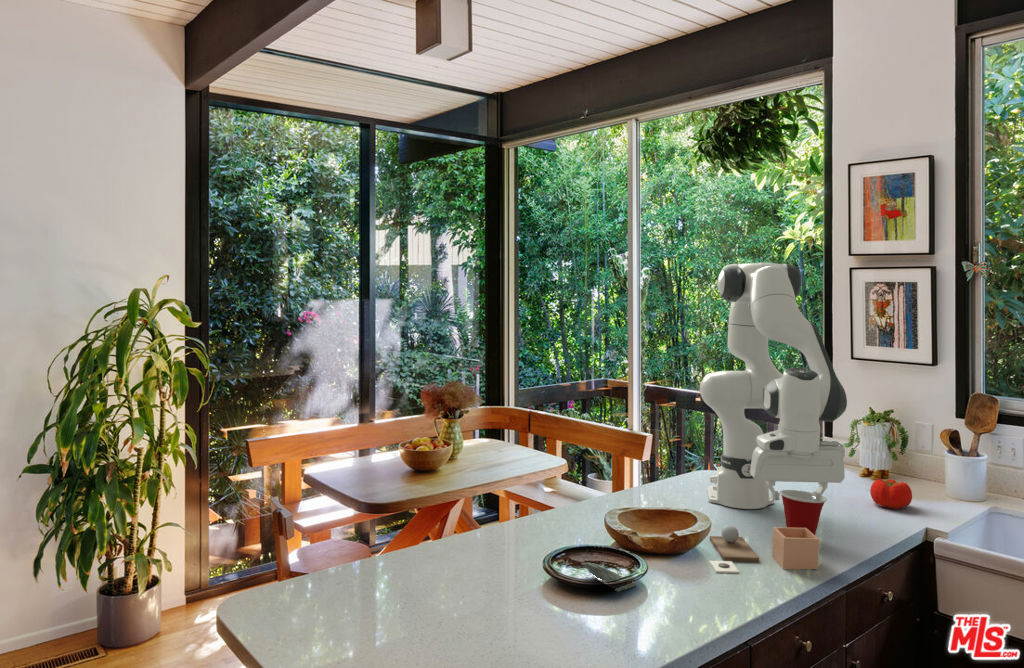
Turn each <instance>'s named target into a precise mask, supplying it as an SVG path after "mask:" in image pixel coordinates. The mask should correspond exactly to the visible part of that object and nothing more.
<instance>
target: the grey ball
mask: <svg viewBox="0 0 1024 668" xmlns="http://www.w3.org/2000/svg"><path fill="white" fill-rule="evenodd" d="M721 536H722V537H723V539H724V540H725V541H727V542H730V543H732V542H735V541H736V540H737V539H738V537H740V533H739V530H738V528H737V527H736V526H733V525H726V526H724V527H723V528H722V529H721Z"/></svg>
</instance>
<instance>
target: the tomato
mask: <svg viewBox="0 0 1024 668" xmlns="http://www.w3.org/2000/svg"><path fill="white" fill-rule="evenodd" d="M869 493H870V496H871V499H872V500H873V502H874V503H875V504H876V505H878V506H880V507H882V508H889V509H895V510H898V509H902V508H904V507H908V506H910V505H911V503H912V501H913V492H912V489H911V487H910V486H909V485H908V483H907V482H903V481H896V480H895V479H887V478H885V480H884V479H882V478H880V479H879V478H878V479H876V480H874V481H873V482H872V484H871V486H870V489H869Z"/></svg>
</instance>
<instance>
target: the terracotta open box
mask: <svg viewBox="0 0 1024 668" xmlns="http://www.w3.org/2000/svg"><path fill="white" fill-rule="evenodd" d="M771 545H772V548H771V557H772V559H774V561H775V562H776V563H777V564H778V565H779V566H780V567H781V569H783V570H800V569H817V570H816V571H819V557H820V556H819V554H820V553H819V552H820V538H819V537H817V536H816V534H815V535H814V534H813V533H812V532H810V531H809V530H808V529H807V528H792V527H785V526H784V527H783V526H780V527H778V526H773V527H772V544H771Z"/></svg>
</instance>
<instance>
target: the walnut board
mask: <svg viewBox="0 0 1024 668" xmlns="http://www.w3.org/2000/svg"><path fill="white" fill-rule="evenodd" d="M709 541H710V543H711V544H712V546H713V547H714V549H715V551H716V552H717V554H718V555H719V557H721V559H722V561H732V562H740V563H742V562H743V563H744V562H745V563H759V562H760V557H759V556H758V555H757V553H756V552H755V551H754V549H752V547H751V546H750V545H749V543H748V542H747V541H746V540H745V539H744V537H742V536H739V537H738V539H737V540H736V541H735V542H732V543H730V542H727V541H725V540H724V539H723V537H722V535H721V536H720V535H719V536H715V535H711V536H710V535H709Z"/></svg>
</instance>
